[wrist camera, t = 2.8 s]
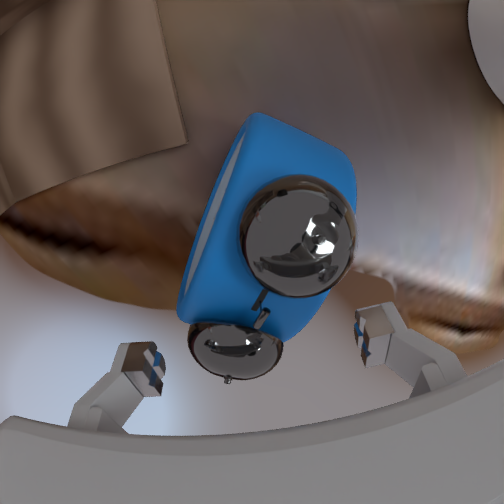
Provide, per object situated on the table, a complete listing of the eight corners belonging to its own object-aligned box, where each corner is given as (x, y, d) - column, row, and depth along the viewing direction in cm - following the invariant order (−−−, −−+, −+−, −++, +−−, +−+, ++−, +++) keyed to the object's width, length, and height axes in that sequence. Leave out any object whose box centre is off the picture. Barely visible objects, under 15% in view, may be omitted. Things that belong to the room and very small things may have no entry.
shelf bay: (145, -54, 12) (108, -93, 6) (188, 141, 22) (163, 172, 15) (-27, 51, 14) (-82, 61, 7) (13, 201, 24) (-34, 242, 17)
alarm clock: (250, 101, 20) (261, 139, 8) (324, 134, 22) (424, 223, 9) (191, 242, 27) (156, 390, 14) (255, 264, 28) (264, 413, 16)
